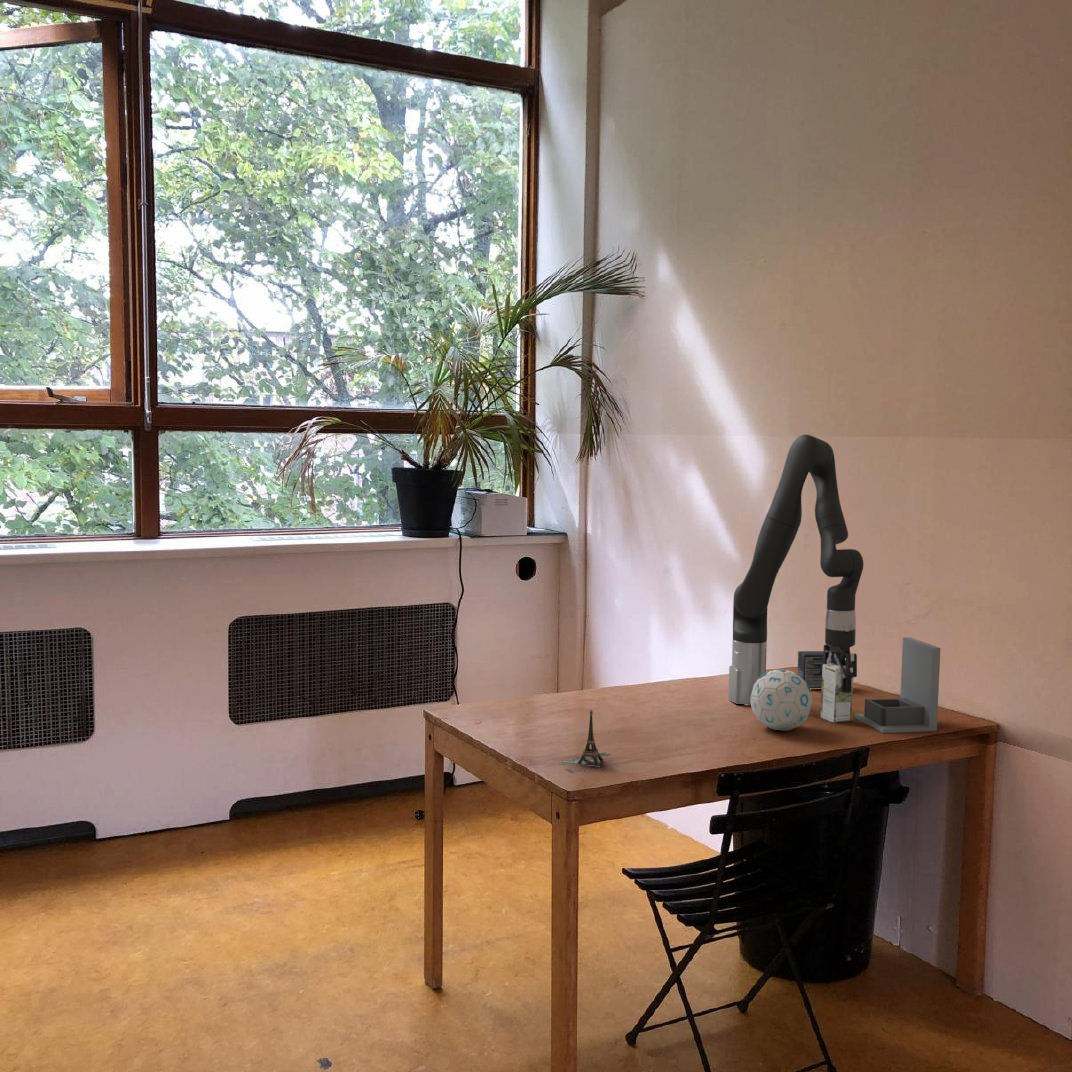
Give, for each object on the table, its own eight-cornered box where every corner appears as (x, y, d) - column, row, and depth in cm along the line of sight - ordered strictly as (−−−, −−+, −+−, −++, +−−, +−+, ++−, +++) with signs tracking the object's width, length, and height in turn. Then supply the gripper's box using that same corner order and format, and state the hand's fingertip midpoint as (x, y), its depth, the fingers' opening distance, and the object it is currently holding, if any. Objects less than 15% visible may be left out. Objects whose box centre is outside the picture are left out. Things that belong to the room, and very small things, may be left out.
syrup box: (837, 716, 286) (839, 661, 285) (852, 721, 281) (854, 666, 279) (819, 718, 284) (821, 663, 282) (834, 723, 278) (836, 667, 277)
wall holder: (882, 732, 270) (886, 649, 268) (854, 717, 285) (858, 638, 283) (936, 731, 272) (940, 648, 270) (906, 715, 287) (910, 637, 285)
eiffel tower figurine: (606, 754, 250) (607, 697, 249) (630, 766, 241) (632, 707, 240) (549, 763, 243) (550, 704, 242) (571, 775, 234) (572, 714, 233)
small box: (831, 685, 323) (832, 650, 322) (838, 690, 316) (840, 654, 316) (796, 685, 322) (797, 650, 321) (803, 690, 316) (804, 654, 315)
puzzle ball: (755, 737, 265) (757, 676, 263) (744, 721, 280) (746, 663, 278) (818, 737, 265) (820, 677, 263) (803, 721, 280) (805, 664, 278)
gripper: (814, 622, 287) (813, 683, 288) (839, 631, 273) (838, 695, 274) (841, 621, 288) (839, 682, 289) (867, 631, 274) (865, 694, 276)
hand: (838, 688), depth 282 cm, fingers open, 8 cm apart
